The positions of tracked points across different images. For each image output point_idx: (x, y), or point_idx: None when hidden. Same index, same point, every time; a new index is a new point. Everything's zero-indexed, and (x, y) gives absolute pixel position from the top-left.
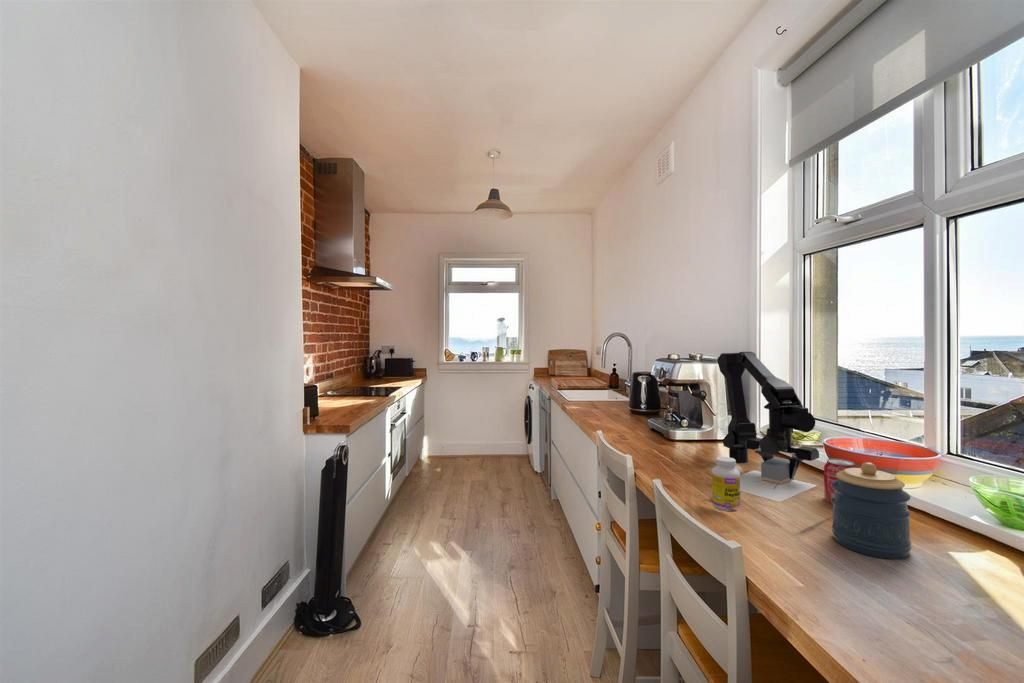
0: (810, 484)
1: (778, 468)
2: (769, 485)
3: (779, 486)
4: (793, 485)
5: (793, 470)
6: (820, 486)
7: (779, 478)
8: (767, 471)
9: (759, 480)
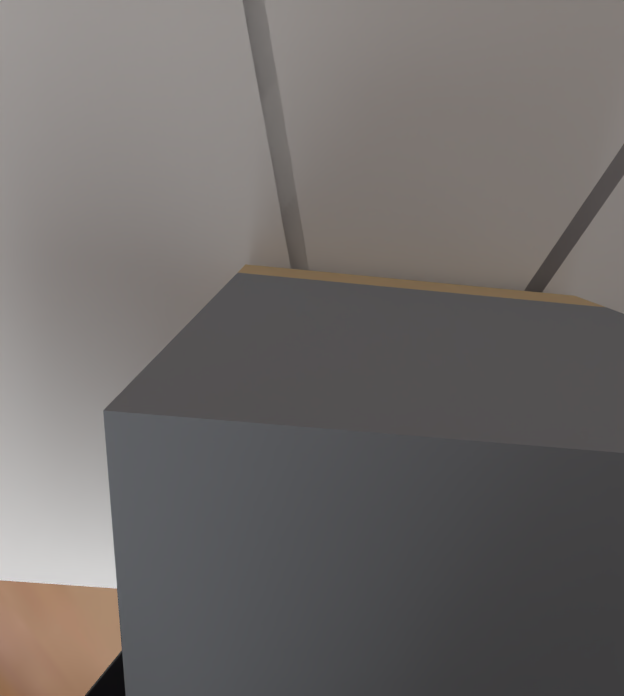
0: (24, 558)
1: (226, 376)
2: (375, 57)
3: (226, 147)
4: (117, 375)
5: (95, 684)
6: (68, 646)
7: (254, 283)
8: (563, 341)
9: (592, 241)
